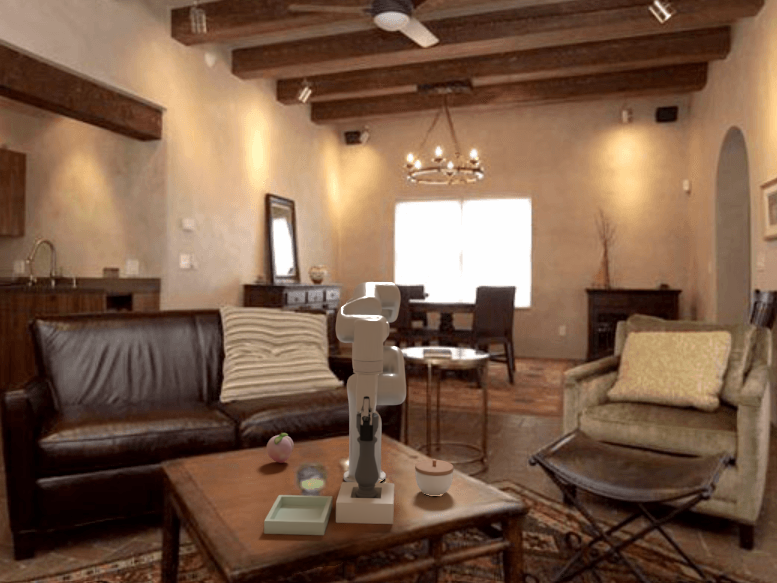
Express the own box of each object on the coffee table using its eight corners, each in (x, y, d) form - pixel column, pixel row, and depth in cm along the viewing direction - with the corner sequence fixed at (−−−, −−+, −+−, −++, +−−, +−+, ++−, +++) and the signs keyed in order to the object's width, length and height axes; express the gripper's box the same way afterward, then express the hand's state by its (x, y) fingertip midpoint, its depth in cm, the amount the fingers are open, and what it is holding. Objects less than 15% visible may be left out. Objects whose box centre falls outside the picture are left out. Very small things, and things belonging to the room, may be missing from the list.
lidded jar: (442, 484, 172) (443, 452, 171) (459, 497, 162) (460, 463, 161) (408, 488, 168) (409, 456, 167) (424, 502, 158) (424, 467, 157)
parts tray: (278, 506, 154) (278, 494, 154) (332, 507, 153) (332, 496, 153) (264, 533, 138) (264, 520, 138) (323, 535, 137) (324, 522, 137)
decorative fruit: (270, 458, 193) (270, 428, 192) (295, 458, 193) (295, 428, 192) (263, 467, 183) (263, 436, 183) (289, 468, 183) (289, 436, 183)
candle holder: (349, 511, 151) (350, 414, 150) (367, 504, 156) (368, 410, 155) (365, 518, 147) (366, 419, 146) (383, 511, 151) (384, 415, 150)
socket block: (341, 500, 158) (342, 481, 158) (394, 501, 158) (394, 483, 158) (335, 522, 144) (336, 502, 144) (393, 524, 144) (393, 503, 144)
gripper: (356, 361, 159) (355, 427, 159) (350, 372, 141) (349, 446, 142) (384, 361, 158) (383, 428, 159) (381, 372, 141) (380, 447, 142)
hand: (367, 436), depth 151 cm, fingers closed on candle holder, 5 cm apart
